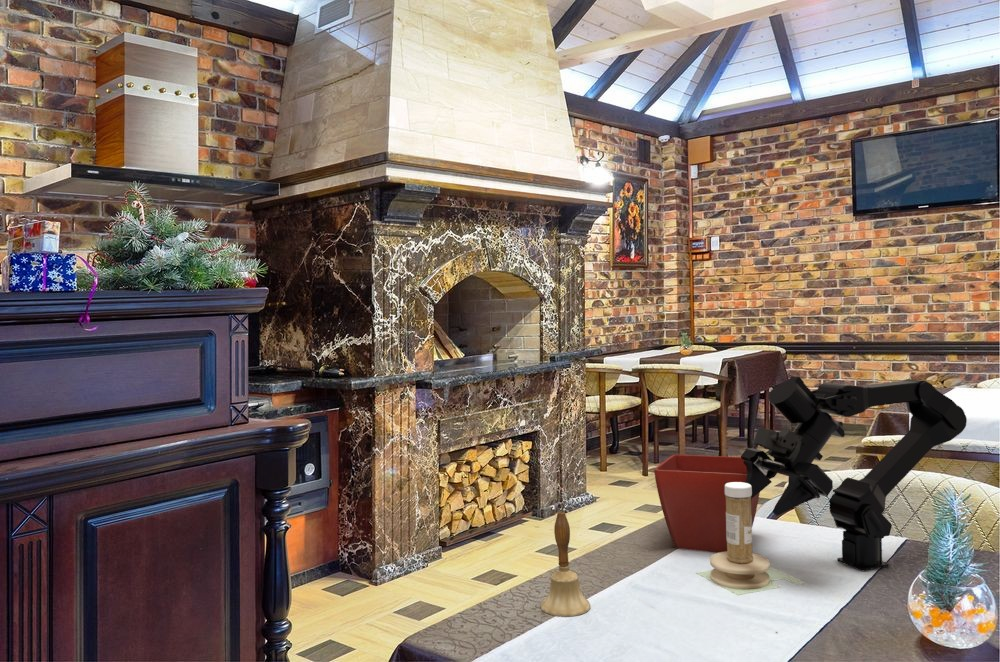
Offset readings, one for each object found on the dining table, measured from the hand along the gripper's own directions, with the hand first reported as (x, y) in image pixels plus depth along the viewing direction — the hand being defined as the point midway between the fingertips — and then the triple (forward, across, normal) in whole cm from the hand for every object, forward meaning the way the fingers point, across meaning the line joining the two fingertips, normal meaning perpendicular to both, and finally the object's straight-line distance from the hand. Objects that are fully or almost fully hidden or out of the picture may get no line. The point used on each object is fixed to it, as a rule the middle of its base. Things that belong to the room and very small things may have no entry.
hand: (757, 507), depth 139 cm
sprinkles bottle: (+9, 0, +4) cm, 10 cm away
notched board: (+11, 0, +8) cm, 13 cm away
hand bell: (+35, -3, -16) cm, 39 cm away
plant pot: (+7, -20, +12) cm, 25 cm away
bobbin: (+12, 0, +6) cm, 13 cm away
